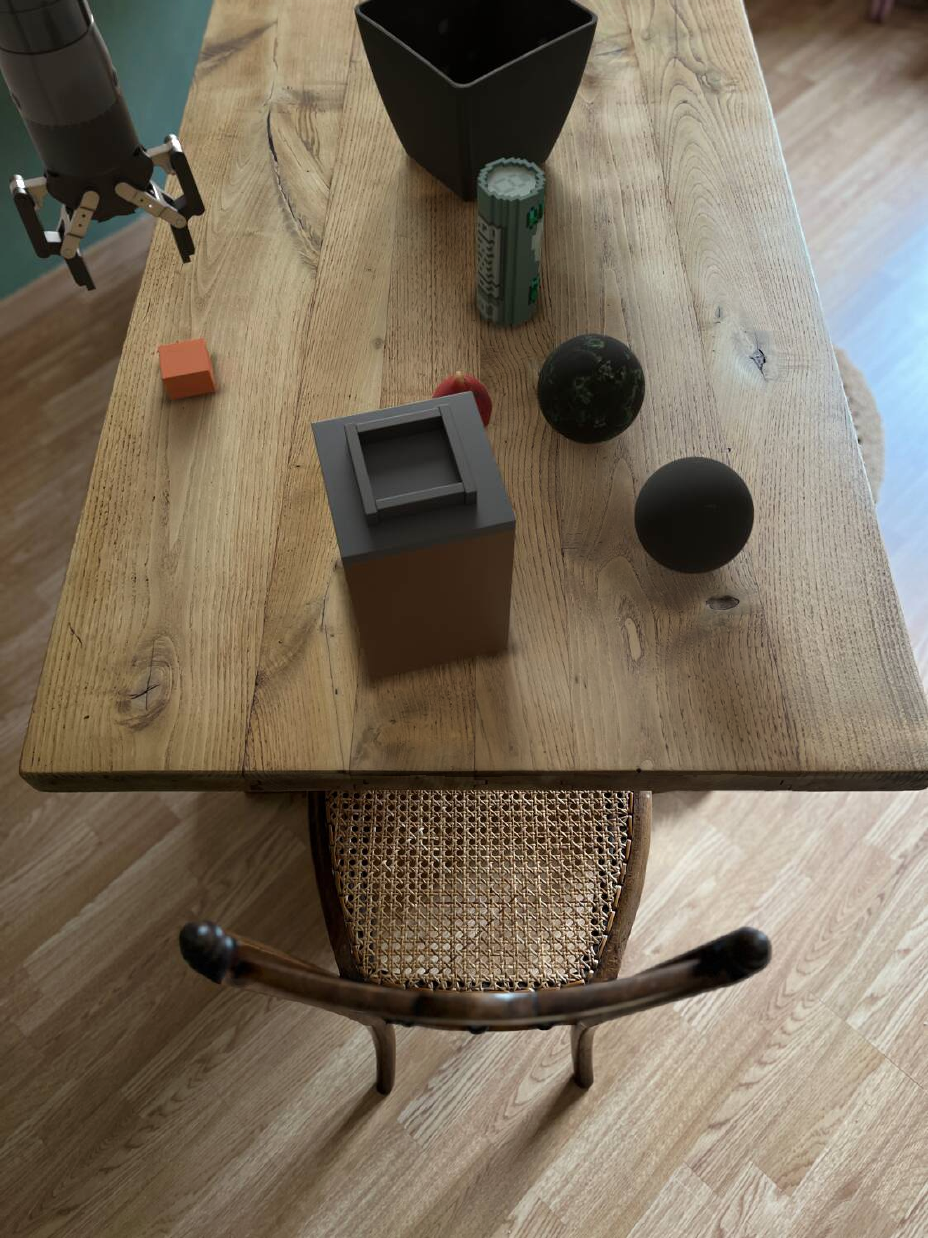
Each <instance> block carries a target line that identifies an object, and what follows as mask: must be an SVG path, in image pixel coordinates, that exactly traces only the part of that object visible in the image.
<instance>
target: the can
mask: <svg viewBox="0 0 928 1238" xmlns="http://www.w3.org/2000/svg"><path fill="white" fill-rule="evenodd" d="M546 187H547V179H546V173H545V172H544V171H543V170H542V169H541V168H540V167H539V166H537V165H536V164H535V163H534V162H532V163H529V162H528V161H527V160H526V159H524V160H520V159H519V158H518V159H514V158H513V157H512V158H510V159H507V160H505V159H504V158H502V159H499V160H497V161H494V162H491V163H489V164H486V165H485V168H484V169H482V170H480V174H479V177H478V178H477V200H476V305H477V312H478V313H479V314H480V315H481V316H482V317H483V318H484V320H485V321H486V322H490V321H491V322H492V324H493V325H494V326H496V325H499V326H500V327H501V326H504V327H509V326H511V325H512V326H513V327H515V326H518V325H520V324H523V323H525V322H528V321H530V320H531V317H532V316H533V315H535V314H536V313H535V311H536V310H537V309H536V308H537V307H538V306H537V305H538V294H539V293H538V291H539V281H540V266H541V257H542V255H541V254H542V241H543V230H544V229H543V228H544V216H545V215H544V214H545V201H546V191H547V190H546Z"/></svg>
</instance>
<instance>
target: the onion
mask: <svg viewBox="0 0 928 1238" xmlns="http://www.w3.org/2000/svg"><path fill="white" fill-rule="evenodd" d="M470 391H472V393H473V395H474V398H475V401H476V404H477V407H478V410H479V413H480V416H481V419H482V422H483V425H484V428H485V429H486V428H487V427H488V426H489V425H490V424H491V418H492V413H493V401H492V399H491V397H490V393H489V391H488V389H487V388H486V386H485V385H484V384H483V383H482V382H481V381H480V380H479V379H477V378H476V377H474V376H472V375H469V374H464V373H463V372H462V371H460V370H459V371H456V372H455V374H454V375H451V376H449V377H447V378H446V379H443V381H441V382H440V384H438V386H437V387H436V388H435V390H434V392H433V394H432V397H431V399H434V398H439V397H444V396H449V395H454V394H459V393H464V392H470Z"/></svg>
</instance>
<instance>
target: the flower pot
mask: <svg viewBox="0 0 928 1238" xmlns="http://www.w3.org/2000/svg"><path fill="white" fill-rule="evenodd" d="M353 10H354V15H355V20H356V23H357V26H358V31H359V35H360V39H361V42H362V46H363V50H364V53H365V55H366V59H367V62H368V65H369V68H370V71H371V74H372V77H373V80H374V83H375V85H376V88H377V91H378V93H379V97H380V98H381V101H382V103H383V106H384V109H385V111H386V113H387V116H388V118H389V120H390V122H391V124H392V127H393V129H394V131H395V133H396V135H397V137H398V140H399V142H400V144H401V146H402V148H403V149H404V152H405V153H406V155H407V156H408V157H409V158H410V159H412V160H413V161H414V162H415V163H417V164H418V165H419V166H421V168H423V169H424V170H425V171H426V172H427V173H429V174H430V175H431V176H433V177H434V178H435V179H436V180H437V181H439V183H441V184H442V185H443V186H445V187H446V188H447V189H448V190H449V191H451V192H452V193H453V194H454V195H456V196H457V197H458V198H459V199H460V200H462V201H464V202H467V203H472V202H476V201H477V178H478V177H479V174H480V170H482V169H484V168H485V165H486V164H489V163H491V162H494V161H497V160H499V159H502V158H504V159H505V160H507V159H510V158H512V157H513V158H514V159H518V158H519V159H520V160H524V159H526V160H527V161H528V162H529V163H532V162H534V163H535V164H536V165H537V166H538V167H539V166H541V165H542V164H544V163H546V162H547V160H548V159H549V157H550V156H551V153H552V151H553V149H554V147H555V145H556V143H557V141H558V139H559V137H560V134H561V132H562V131H563V128H564V126H565V123H566V122H567V119H568V117H569V114H570V111H571V109H572V106H573V104H574V102H575V99H576V97H577V94H578V92H579V88H580V85H581V82H582V79H583V76H584V73H585V70H586V66H587V63H588V59H589V57H590V53H591V50H592V46H593V42H594V38H595V35H596V30H597V27H598V21H599V15H597V14H596V13H595V12H594V11H592V10H591V9H590V8H588V7H586V6H585V5H583V4H581V3H580V2H578V1H576V0H363V1H361V2H359V3H357V4H356V5H355V6H354V8H353Z"/></svg>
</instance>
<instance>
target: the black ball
mask: <svg viewBox="0 0 928 1238" xmlns="http://www.w3.org/2000/svg"><path fill="white" fill-rule="evenodd" d="M752 496H753V495H752V494H751V491H750V489H749V487H748V485H747V484H746V482H745V481H744V479H743V478H742V476H741V475H739V473H738V472H736V470H734V469H733V468H732V467H730V466H729V465H728V464H726V463H724V462H722V461H719V460H717V459H713V458H711V457H705V456H687V457H681V458H678V459H674V460H672V461H669V462H668V463H665V464H664V465H662V466H660V467H659V468H658V469H657V470H655V471H654V472H653V473H652V474H651V475H650V476H649V477H648V478H647V480H646V481H645V482H644V483H643V485H642V487H641V488H640V490H639V492H638V494H637V496H636V497H637V498H636V500H635V504H634V510H633V523H634V529H635V534H636V536H637V539H638V541H639V543H640V546H641V547H642V548H643V550H644V552H645V553H646V554H647V555H648V556H649V557H650V558H651V559H652V560H653V561H654V562H655V563H657V564H658V565H660V566H661V567H663V568H665V569H667V570H669V571H672V572H676V573H678V574H679V573H680V574H685V575H700V574H706V573H710V572H714V571H716V570H718V569H720V568H722V567H724V566H726V565H727V564H729V563H730V562H731V561H733V560H734V559H735V558H736V557H737V556H738V555H739V554H740V553H741V552H742V550H743V549H744V548H745V546H746V544H747V542H748V541H749V539H750V536H751V534H752V531H753V528H754V522H755V506H754V500H753V497H752Z"/></svg>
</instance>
